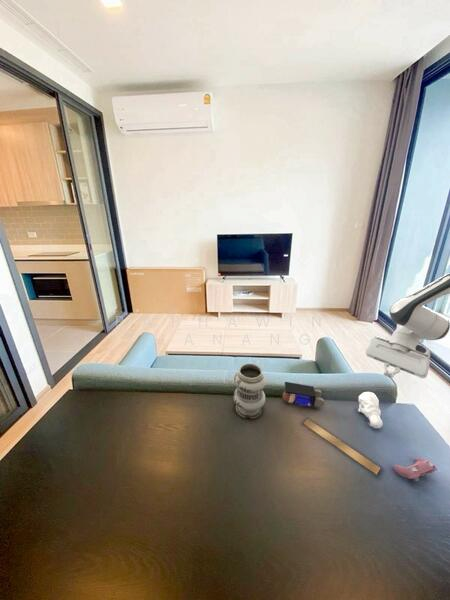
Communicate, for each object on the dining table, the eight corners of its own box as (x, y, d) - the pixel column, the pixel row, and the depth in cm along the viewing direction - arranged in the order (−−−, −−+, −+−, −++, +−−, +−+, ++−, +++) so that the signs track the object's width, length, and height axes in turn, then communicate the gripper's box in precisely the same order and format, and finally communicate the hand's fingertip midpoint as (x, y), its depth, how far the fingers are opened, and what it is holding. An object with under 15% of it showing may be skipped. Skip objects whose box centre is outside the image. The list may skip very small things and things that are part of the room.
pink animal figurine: (401, 484, 70) (418, 481, 65) (390, 466, 73) (405, 461, 68) (427, 475, 72) (445, 471, 67) (415, 457, 75) (432, 452, 70)
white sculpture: (377, 389, 92) (393, 417, 81) (371, 405, 96) (385, 434, 85) (359, 388, 92) (372, 415, 82) (354, 404, 96) (366, 432, 86)
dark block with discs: (318, 401, 100) (281, 393, 101) (323, 387, 97) (285, 379, 99) (321, 414, 93) (281, 406, 95) (326, 399, 91) (286, 390, 92)
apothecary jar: (233, 420, 89) (233, 380, 82) (233, 396, 100) (234, 359, 94) (266, 421, 89) (269, 381, 82) (262, 397, 100) (265, 360, 93)
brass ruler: (380, 468, 73) (380, 467, 73) (376, 475, 71) (376, 474, 71) (307, 419, 90) (307, 419, 89) (303, 424, 88) (303, 423, 88)
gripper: (372, 331, 100) (358, 361, 97) (435, 353, 86) (420, 388, 83) (374, 337, 104) (360, 366, 102) (434, 358, 90) (420, 392, 87)
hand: (387, 376), depth 92 cm, fingers closed
